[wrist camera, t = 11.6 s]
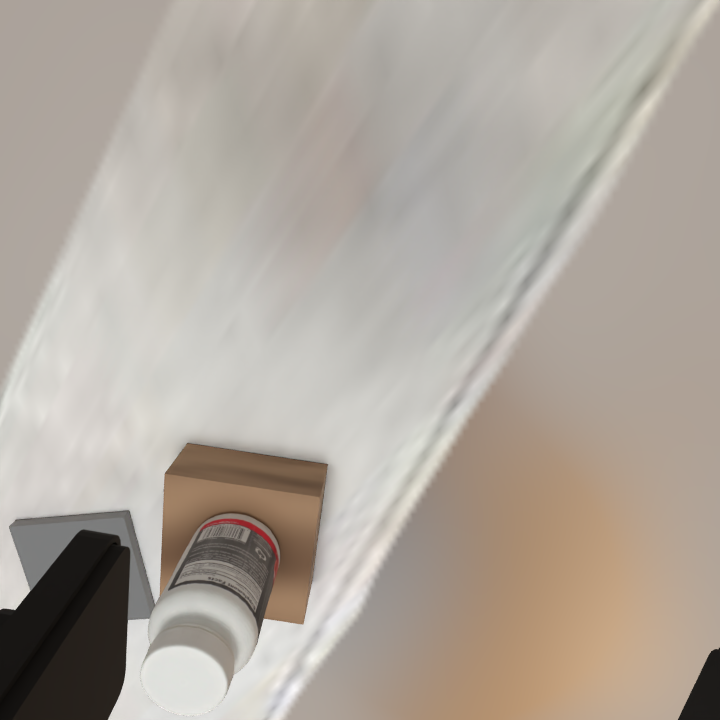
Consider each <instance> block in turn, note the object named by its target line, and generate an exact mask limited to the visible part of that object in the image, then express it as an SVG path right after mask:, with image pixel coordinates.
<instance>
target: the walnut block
mask: <svg viewBox="0 0 720 720" xmlns="http://www.w3.org/2000/svg"><path fill="white" fill-rule="evenodd" d="M327 466H328V464H321V463H315V462H308V461H301V460H295V459H288V458H281V457H275V456H268V455H262V454H255V453H248V452H242V451H235V450H229V449H222V448H215V447H209V446H202V445H195V444H189V443H187V445H186V446H185V447H184V449H183V450H182V451H181V453H180V454H179V455H178V457H177V458H176V459H175V461H174V462H173V463H172V465H171V466H170V467H169V469H168V470H167V471H166V473H165V480H164V504H163V528H162V553H161V577H160V596H161V594H162V592H163V590H164V589H165V587H166V585H167V583H168V582H169V580H170V578H171V576H172V574H173V572H174V570H175V568H176V566H177V564H178V562H179V561H180V559H181V557H182V555H183V553H184V551H185V550H186V548H187V546H188V544H189V543H190V541H191V539H192V537H193V535H194V534H195V532H196V531H197V529H198V528H199V527H200V526H201V525H202V524H203V523H204V522H206V521H207V520H208V519H210V518H212V517H215V516H217V515H222V514H229V513H233V514H242V515H247V516H249V517H252V518H254V519H256V520H257V521H259V522H261V523H263V524H264V525H265V526H266V527H267V528H269V529H270V531H271V532H272V534H273V535H274V537H275V539H276V540H277V542H278V546H279V550H280V562H279V567H278V571H277V575H276V578H275V582H274V585H273V588H272V592H271V595H270V598H269V601H268V605H267V608H266V612H265V615H264V619H271V620H277V621H284V622H290V623H297V624H303V623H304V619H305V614H306V609H307V604H308V599H309V594H310V589H311V584H312V578H313V571H314V563H315V556H316V548H317V541H318V533H319V526H320V518H321V511H322V504H323V496H324V489H325V481H326V474H327Z"/></svg>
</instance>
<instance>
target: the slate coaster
mask: <svg viewBox="0 0 720 720" xmlns="http://www.w3.org/2000/svg"><path fill="white" fill-rule="evenodd" d="M9 529H10V532H11V535H12V538H13V541H14V543H15V546H16V549H17V552H18V555H19V558H20V561H21V564H22V567H23V570H24V573H25V576H26V579H27V582H28V584H29V587H30V590H32V589H33V588H34V586H35V585H36V584H37V583H38V581H39V580H40V579H41V578H42V576H43V575H44V574H45V573H46V571H47V570H48V569H49V568H50V566H51V565H52V564H53V563H54V561H55V560H56V559H57V558H58V556H59V555H60V554H61V553H62V551H63V550H64V549H65V548H66V546H67V545H68V544H69V543H70V541H71V540H72V539H73V538H74V536H75V535H76V534H77V533H78V532H79V531H80V530H83V529H85V530H91V531H96V532H102V533H108V534H114V535H118V536H119V537H120V540H121V546H126V547H129V548H130V578H129V601H128V620H135V619H150V616H151V613H152V611H153V609H154V606H155V605H154V601H153V597H152V594H151V590H150V586H149V583H148V579H147V575H146V572H145V568H144V564H143V561H142V557H141V553H140V550H139V546H138V542H137V538H136V535H135V531H134V527H133V524H132V520H131V516H130V513H129V511H122V512H109V513H97V514H85V515H73V516H61V517H48V518H36V519H24V520H16V521H15V522H13V523H12V524H11V525H10V526H9Z"/></svg>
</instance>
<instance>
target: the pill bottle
mask: <svg viewBox="0 0 720 720" xmlns="http://www.w3.org/2000/svg"><path fill="white" fill-rule="evenodd" d="M279 562H280V550H279V546H278V542H277V540H276V539H275V537H274V535H273V534H272V532H271V531H270V529H269V528H267V527H266V526H265V525H264V524H263V523H261V522H259V521H257V520H256V519H254V518H252V517H249V516H247V515H242V514H233V513H229V514H222V515H217V516H215V517H212V518H210V519H208V520H207V521H206V522H204V523H203V524H202V525H201V526H200V527H199V528H198V529H197V531H196V532H195V534H194V535H193V537H192V539H191V541H190V543H189V544H188V546H187V548H186V550H185V551H184V553H183V555H182V557H181V559H180V561H179V562H178V564H177V566H176V568H175V570H174V572H173V574H172V576H171V578H170V580H169V582H168V583H167V585H166V587H165V589H164V590H163V592H162V594H161V596H160V597H159V599H158V601H157V603H156V604H155V606H154V609H153V611H152V613H151V616H150V619H149V625H148V638H149V643H150V647H149V649H148V652H147V655H146V657H145V659H144V661H143V664H142V667H141V671H140V680H141V684H142V687H143V690H144V692H145V693H146V695H147V696H148V697H149V698H150V700H151V701H153V702H154V703H155V704H156V705H157V706H159V707H160V708H162V709H164V710H166V711H168V712H171V713H174V714H178V715H183V716H197V715H201V714H205V713H207V712H210V711H212V710H213V709H215V708H216V707H217V706H218V705H219V704H220V703H221V702H222V701H223V699H224V698H225V696H226V694H227V691H228V689H229V686H230V683H231V681H232V678H233V675H234V674H236V673H237V672H238V671H240V670H241V669H242V668H243V667H244V666H245V665H246V664H247V663H248V661H249V660H250V658H251V656H252V654H253V652H254V650H255V647H256V645H257V642H258V638H259V634H260V630H261V626H262V622H263V619H264V615H265V612H266V608H267V605H268V601H269V598H270V595H271V592H272V588H273V585H274V582H275V578H276V575H277V571H278V567H279Z"/></svg>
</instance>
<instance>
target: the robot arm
mask: <svg viewBox="0 0 720 720" xmlns="http://www.w3.org/2000/svg"><path fill="white" fill-rule="evenodd" d="M129 578H130V548H129V547H126V546H121V540H120V537H119V536H118V535H114V534H108V533H102V532H96V531H91V530H85V529H83V530H80V531H79V532H78V533H77V534H76V535H75V536H74V538H73V539H72V540H71V541H70V543H69V544H68V545H67V546H66V548H65V549H64V550H63V551H62V553H61V554H60V555H59V556H58V558H57V559H56V560H55V561H54V563H53V564H52V565H51V566H50V568H49V569H48V570H47V571H46V573H45V574H44V575H43V576H42V578H41V579H40V580H39V581H38V583H37V584H36V585H35V586H34V588H33V589H32V590H31V591H30V593H29V594H28V595H27V596H26V598H25V599H24V600H23V601H22V602H21V604H20V605H19V606H18V607H17V609H16V610H11V609H1V610H0V720H108V718H109V716H110V714H111V712H112V710H113V708H114V706H115V704H116V702H117V700H118V697H119V695H120V692H121V689H122V686H123V683H124V678H125V670H126V647H127V624H128V601H129ZM678 720H720V648H719V649H715V650H713V651H711V653H710V654H709V656H708V658H707V660H706V662H705V664H704V666H703V668H702V671H701V673H700V675H699V677H698V679H697V681H696V683H695V685H694V687H693V689H692V691H691V693H690V696H689V698H688V700H687V702H686V704H685V706H684V708H683V710H682V712H681V715H680V717H679V719H678Z"/></svg>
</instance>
